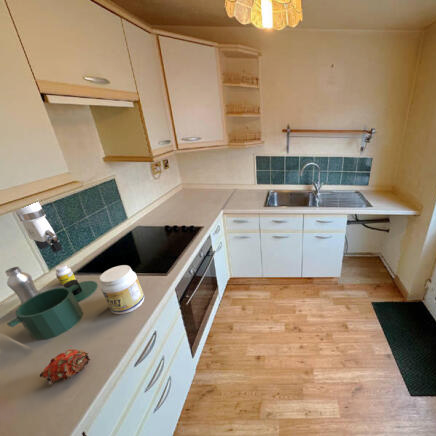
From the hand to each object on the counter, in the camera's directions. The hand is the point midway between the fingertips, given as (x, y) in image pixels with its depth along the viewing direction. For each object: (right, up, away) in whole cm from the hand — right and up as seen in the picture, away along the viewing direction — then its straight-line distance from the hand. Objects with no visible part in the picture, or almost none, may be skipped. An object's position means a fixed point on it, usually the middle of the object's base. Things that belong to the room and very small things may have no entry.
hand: (51, 249), depth 103 cm
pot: (+17, -28, -13) cm, 35 cm away
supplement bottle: (0, -18, +8) cm, 20 cm away
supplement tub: (+39, -23, -5) cm, 45 cm away
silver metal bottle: (0, -24, -5) cm, 25 cm away
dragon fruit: (+39, -35, -31) cm, 61 cm away
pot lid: (+10, -20, +1) cm, 23 cm away
